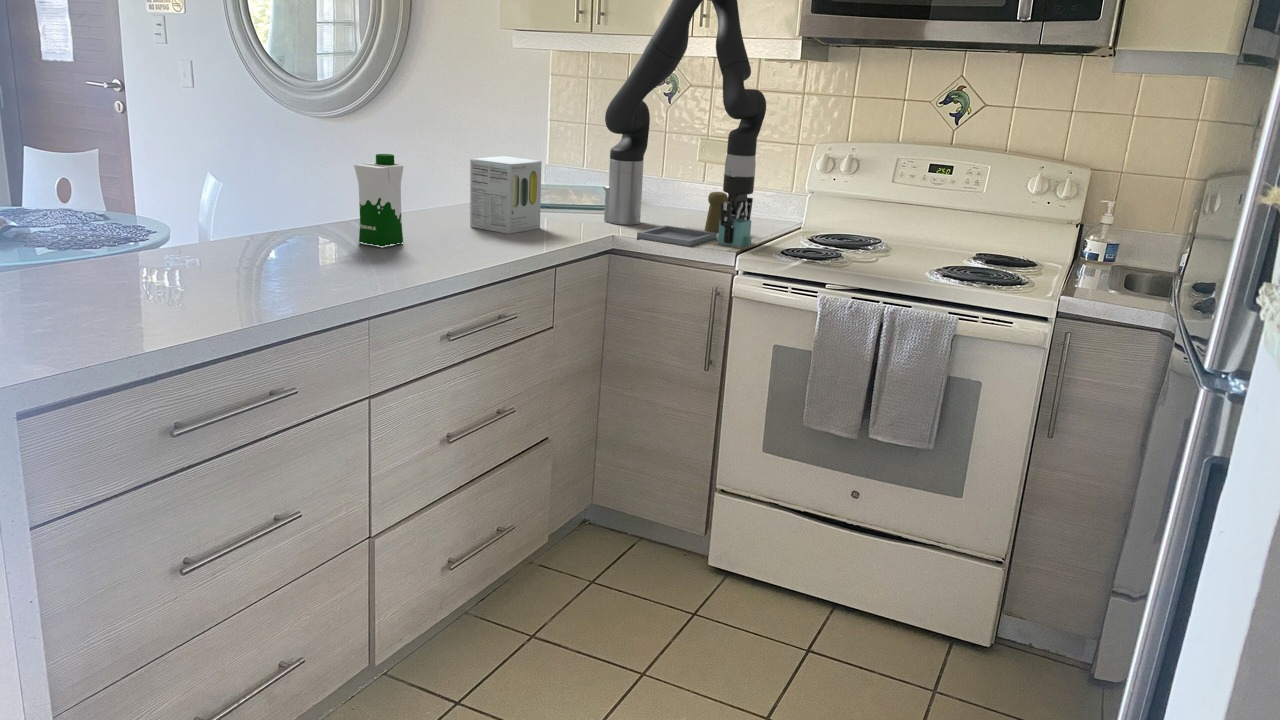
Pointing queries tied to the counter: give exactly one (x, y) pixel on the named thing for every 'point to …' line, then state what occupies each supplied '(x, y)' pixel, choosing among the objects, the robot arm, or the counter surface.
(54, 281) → the counter surface
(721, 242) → the open box
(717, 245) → the square board with knob
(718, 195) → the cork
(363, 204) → the milk carton
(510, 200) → the supplement box
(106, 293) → the counter surface
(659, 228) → the tray
